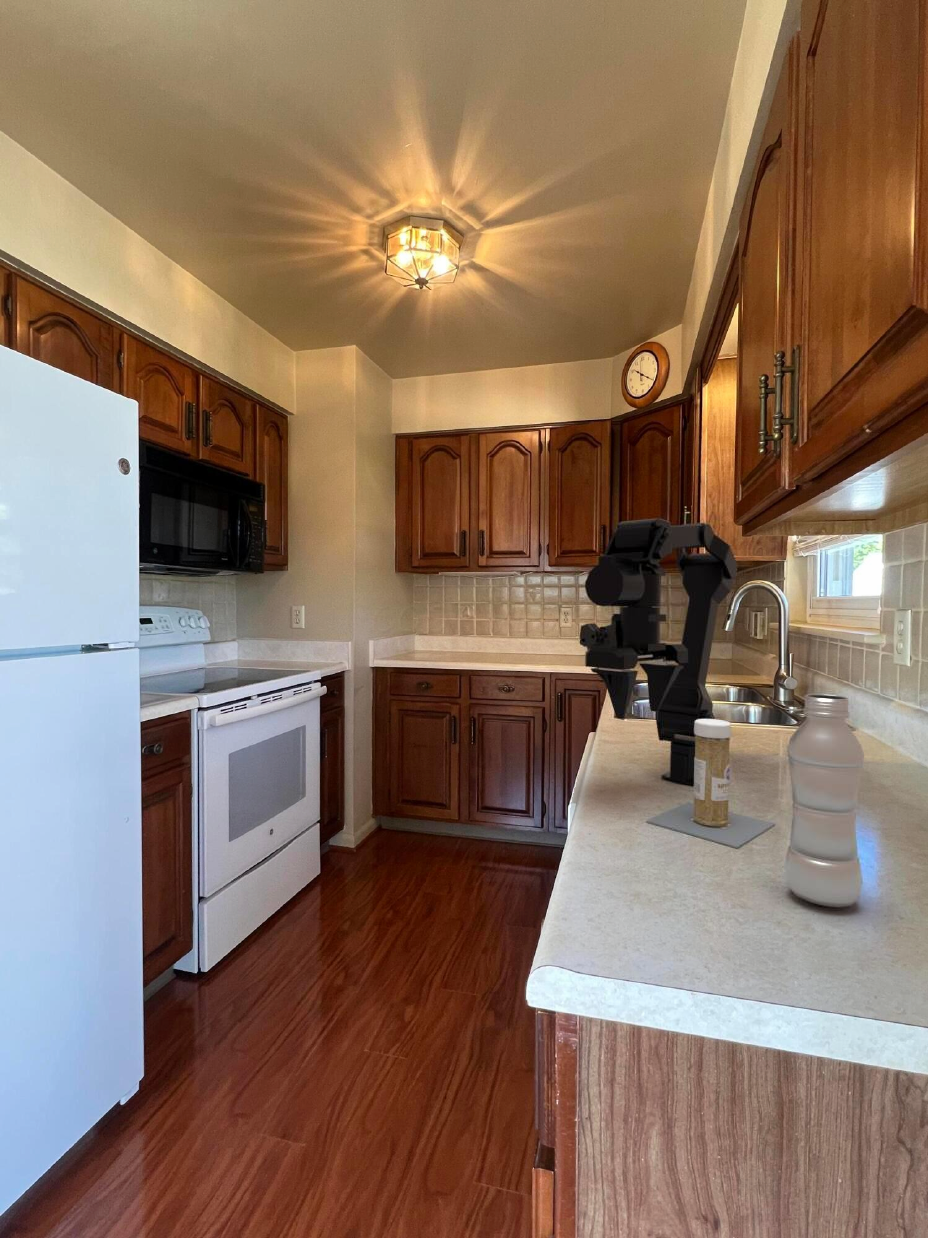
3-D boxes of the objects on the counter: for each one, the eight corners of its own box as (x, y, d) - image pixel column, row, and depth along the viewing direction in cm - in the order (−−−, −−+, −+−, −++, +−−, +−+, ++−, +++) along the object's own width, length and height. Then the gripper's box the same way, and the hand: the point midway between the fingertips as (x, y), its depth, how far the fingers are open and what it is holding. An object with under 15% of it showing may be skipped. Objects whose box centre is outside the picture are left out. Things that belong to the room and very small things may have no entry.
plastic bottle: (879, 914, 58) (884, 701, 57) (814, 919, 57) (820, 702, 56) (827, 883, 64) (832, 691, 64) (768, 887, 63) (773, 692, 63)
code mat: (688, 803, 90) (688, 801, 90) (775, 825, 81) (775, 823, 81) (646, 822, 82) (646, 820, 82) (737, 848, 73) (737, 847, 73)
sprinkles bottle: (729, 830, 79) (732, 725, 78) (691, 825, 80) (693, 722, 80) (728, 819, 83) (730, 719, 83) (692, 814, 85) (694, 716, 84)
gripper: (626, 607, 101) (624, 701, 102) (555, 606, 89) (553, 714, 89) (690, 607, 93) (688, 710, 94) (622, 606, 80) (620, 726, 81)
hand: (637, 714), depth 89 cm, fingers open, 9 cm apart
